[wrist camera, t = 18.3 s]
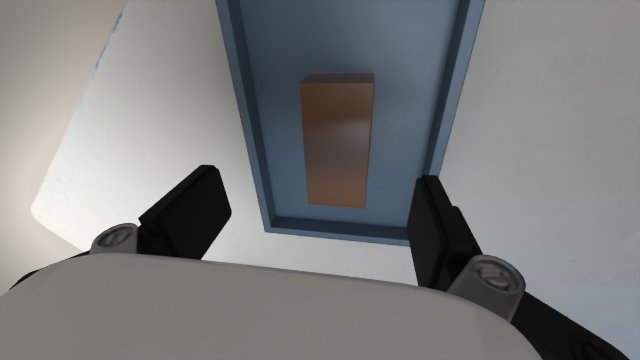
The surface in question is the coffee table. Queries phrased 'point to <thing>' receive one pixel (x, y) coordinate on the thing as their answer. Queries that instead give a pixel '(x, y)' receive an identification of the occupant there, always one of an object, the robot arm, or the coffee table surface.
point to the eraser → (337, 136)
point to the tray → (388, 110)
